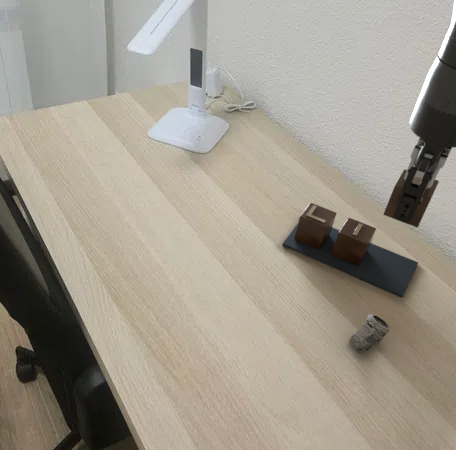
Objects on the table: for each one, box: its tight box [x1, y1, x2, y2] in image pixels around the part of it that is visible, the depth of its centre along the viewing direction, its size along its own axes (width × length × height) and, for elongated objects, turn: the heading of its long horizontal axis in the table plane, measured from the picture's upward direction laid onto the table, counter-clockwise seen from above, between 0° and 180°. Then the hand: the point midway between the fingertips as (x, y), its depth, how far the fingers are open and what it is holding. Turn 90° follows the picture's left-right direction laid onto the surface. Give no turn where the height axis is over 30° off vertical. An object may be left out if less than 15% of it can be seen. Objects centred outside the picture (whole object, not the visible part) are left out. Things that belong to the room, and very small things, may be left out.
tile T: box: [382, 168, 440, 229], centre depth 74 cm, size 5×5×5 cm
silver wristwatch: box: [348, 313, 391, 353], centre depth 76 cm, size 4×6×5 cm, turn 120°
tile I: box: [332, 217, 377, 266], centre depth 89 cm, size 5×5×5 cm
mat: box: [281, 223, 419, 298], centre depth 91 cm, size 20×9×1 cm, turn 56°
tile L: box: [294, 202, 337, 250], centre depth 92 cm, size 5×5×5 cm
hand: (406, 209), depth 75 cm, fingers closed on tile T, 4 cm apart
